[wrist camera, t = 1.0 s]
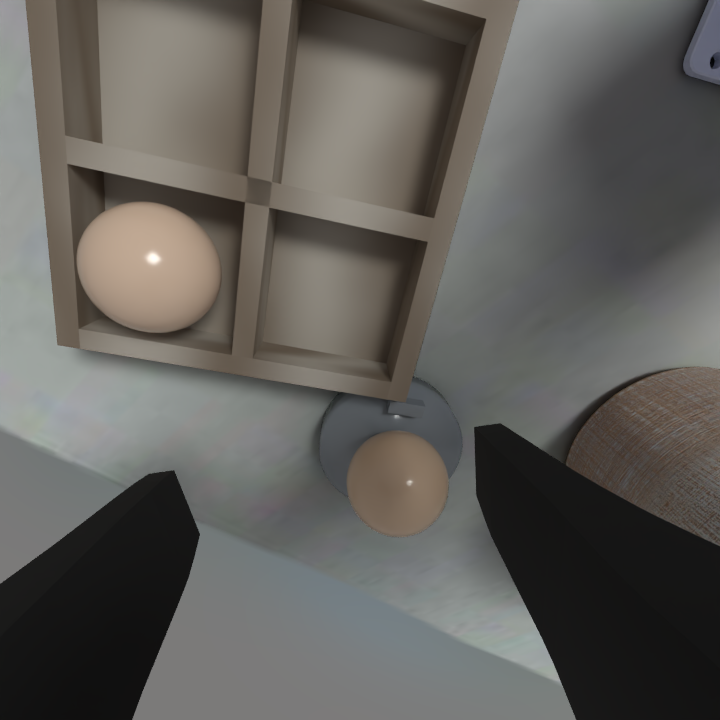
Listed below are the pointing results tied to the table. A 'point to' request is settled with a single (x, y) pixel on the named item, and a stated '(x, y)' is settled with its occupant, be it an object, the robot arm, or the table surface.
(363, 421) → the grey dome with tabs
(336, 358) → the carton
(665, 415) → the planter
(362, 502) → the egg loose
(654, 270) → the table surface
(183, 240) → the egg
